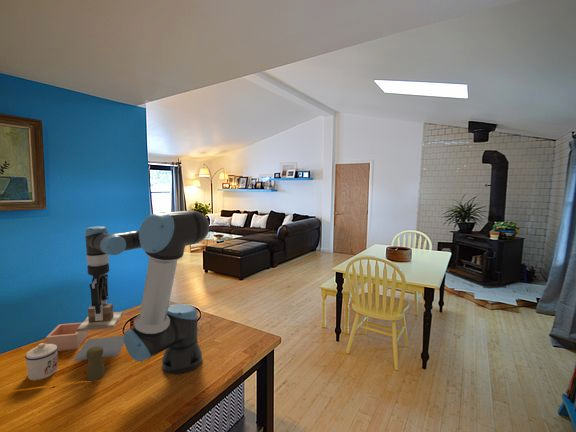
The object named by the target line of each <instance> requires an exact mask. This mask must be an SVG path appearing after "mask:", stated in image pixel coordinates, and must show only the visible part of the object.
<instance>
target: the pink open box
mask: <svg viewBox="0 0 576 432" xmlns="http://www.w3.org/2000/svg"><path fill="white" fill-rule="evenodd" d="M83 322H84V321H82V322H72V323H62V324H61V323H60V324H58V325H57V326H56V327H54V328H53V330H52V331H51V332H50V333H48V335H47V336H45V344H54V345H56V346H57V347H58V349H57V352H61V351H62V352H63V351H73V350H78V349H79V348H80V347H81V345H82V344H83V343H84V342H85V340H86V339H87V337H88V336H89V331H80V332H77V328H78V327H79V326H80V325H81V324H82V323H83Z"/></svg>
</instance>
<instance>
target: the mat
mask: <svg viewBox="0 0 576 432" xmlns="http://www.w3.org/2000/svg"><path fill="white" fill-rule="evenodd" d="M124 345H125V343H124V335H120V336H119V335H117V336H109V337H108V336H107V337H98V338H95V337H94V338H88V339H87V341H86V342H85V344H84V345H83V346H82V348H81V349H80V350H79V351H78V353H77V354H76V355H75V357H74V358H73V359H72V361H73V362H74V361H75V362H76V361H83V360H88V358H87V356H86V354H87V351H88V350H89V349H90V348H92V347H94V346H101V347H102V348H103V354H102V358H110V357H117V356H119V355H120V354H119V353H121V350H122V348H123V347H124Z"/></svg>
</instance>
